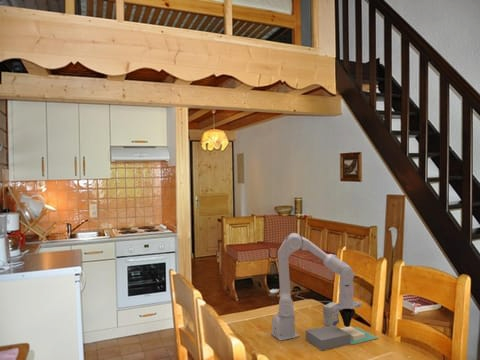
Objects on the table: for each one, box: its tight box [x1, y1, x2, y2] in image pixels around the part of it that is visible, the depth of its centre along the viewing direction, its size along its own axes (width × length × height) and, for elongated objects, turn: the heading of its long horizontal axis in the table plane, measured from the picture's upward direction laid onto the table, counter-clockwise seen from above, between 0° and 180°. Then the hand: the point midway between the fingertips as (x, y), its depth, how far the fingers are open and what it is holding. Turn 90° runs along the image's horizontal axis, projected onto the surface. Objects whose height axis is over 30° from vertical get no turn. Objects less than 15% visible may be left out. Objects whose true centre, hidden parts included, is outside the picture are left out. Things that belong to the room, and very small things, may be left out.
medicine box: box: [322, 301, 340, 326], centre depth 172 cm, size 8×4×9 cm, turn 143°
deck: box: [305, 325, 351, 352], centre depth 152 cm, size 14×11×4 cm
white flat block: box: [339, 325, 365, 341], centre depth 157 cm, size 6×9×2 cm, turn 23°
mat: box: [349, 326, 379, 346], centre depth 158 cm, size 14×13×1 cm
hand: (346, 326), depth 156 cm, fingers closed
